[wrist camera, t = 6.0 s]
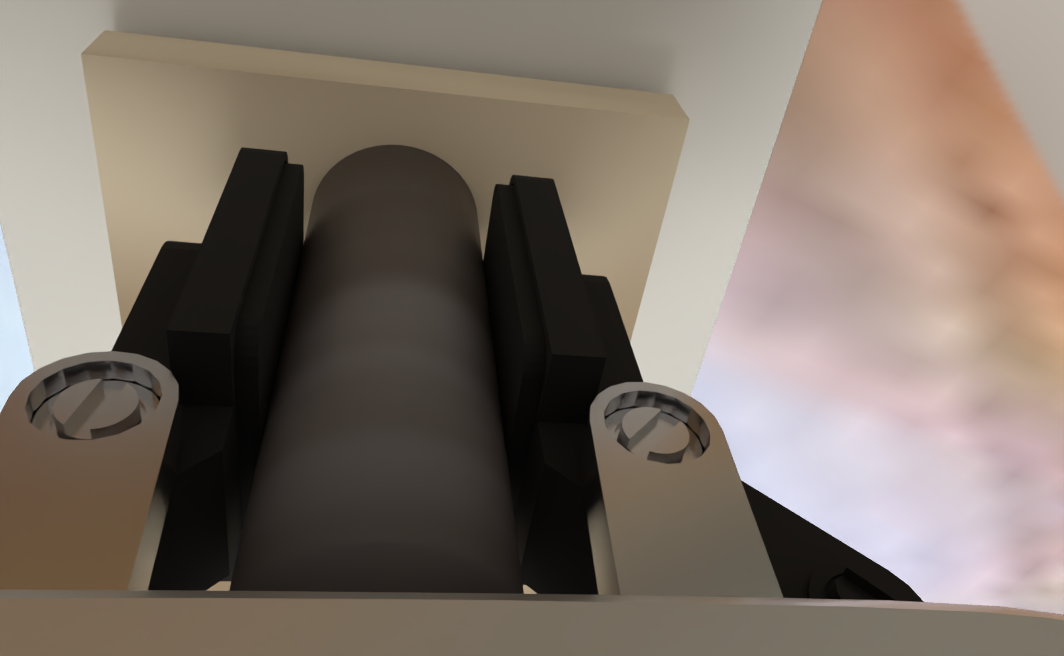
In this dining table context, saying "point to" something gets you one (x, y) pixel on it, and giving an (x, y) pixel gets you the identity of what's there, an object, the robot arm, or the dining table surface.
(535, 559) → the robot arm
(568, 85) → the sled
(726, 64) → the tunnel board
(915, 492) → the dining table surface
